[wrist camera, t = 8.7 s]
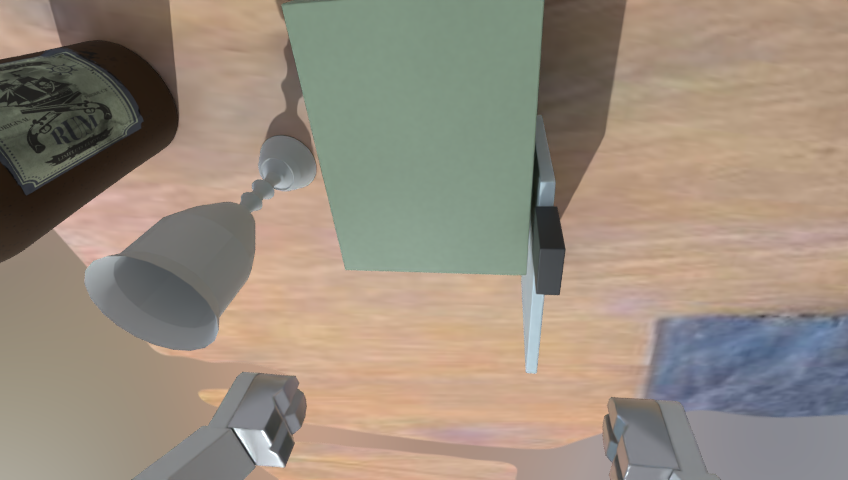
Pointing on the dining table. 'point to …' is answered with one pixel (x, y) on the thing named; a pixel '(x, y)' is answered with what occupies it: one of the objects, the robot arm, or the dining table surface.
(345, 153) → the cabinet
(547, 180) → the sliding door
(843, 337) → the dining table surface
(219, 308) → the chalice
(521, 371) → the dining table surface
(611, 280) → the dining table surface
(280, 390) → the robot arm
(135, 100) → the dark brown necked cylinder
